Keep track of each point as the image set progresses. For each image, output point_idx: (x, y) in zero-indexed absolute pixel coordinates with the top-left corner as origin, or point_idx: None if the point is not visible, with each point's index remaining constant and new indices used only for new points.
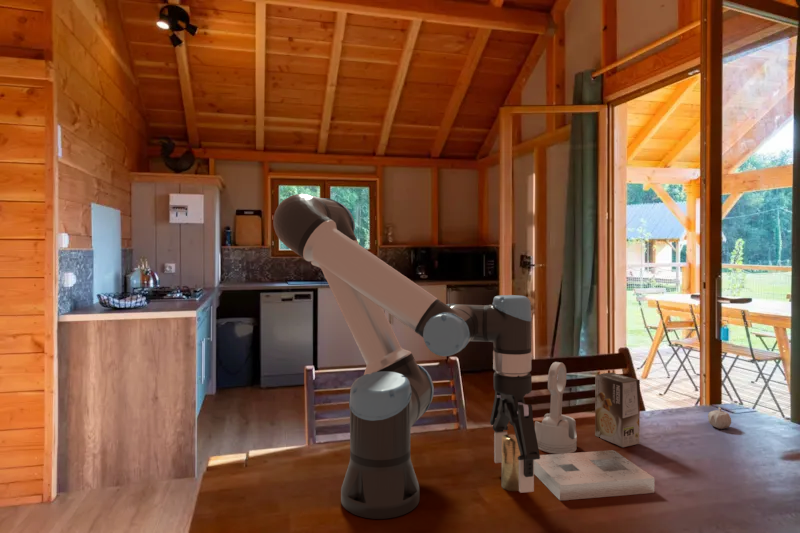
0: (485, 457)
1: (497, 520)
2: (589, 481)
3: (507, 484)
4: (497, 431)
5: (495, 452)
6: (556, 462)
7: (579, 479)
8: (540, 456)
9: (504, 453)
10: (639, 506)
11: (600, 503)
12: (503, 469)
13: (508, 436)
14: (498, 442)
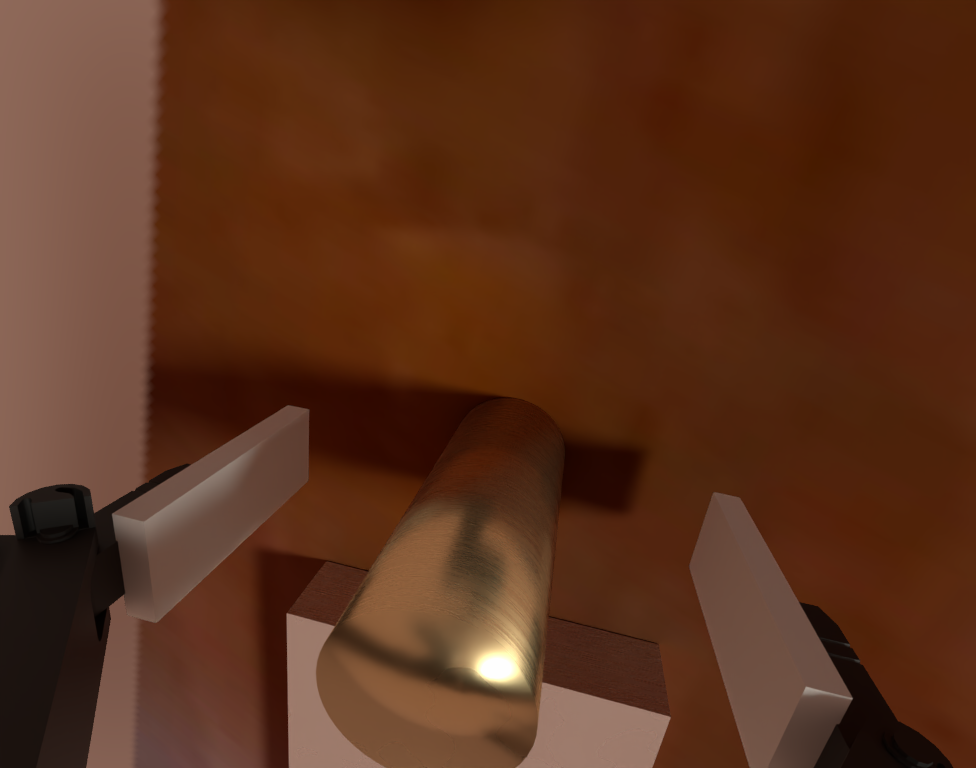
0: (962, 527)
1: (203, 192)
2: (301, 735)
3: (469, 419)
4: (835, 732)
5: (734, 539)
6: (529, 763)
7: (325, 717)
8: (635, 753)
9: (434, 514)
10: (247, 748)
11: (283, 668)
12: (480, 445)
13: (474, 701)
14: (755, 625)
